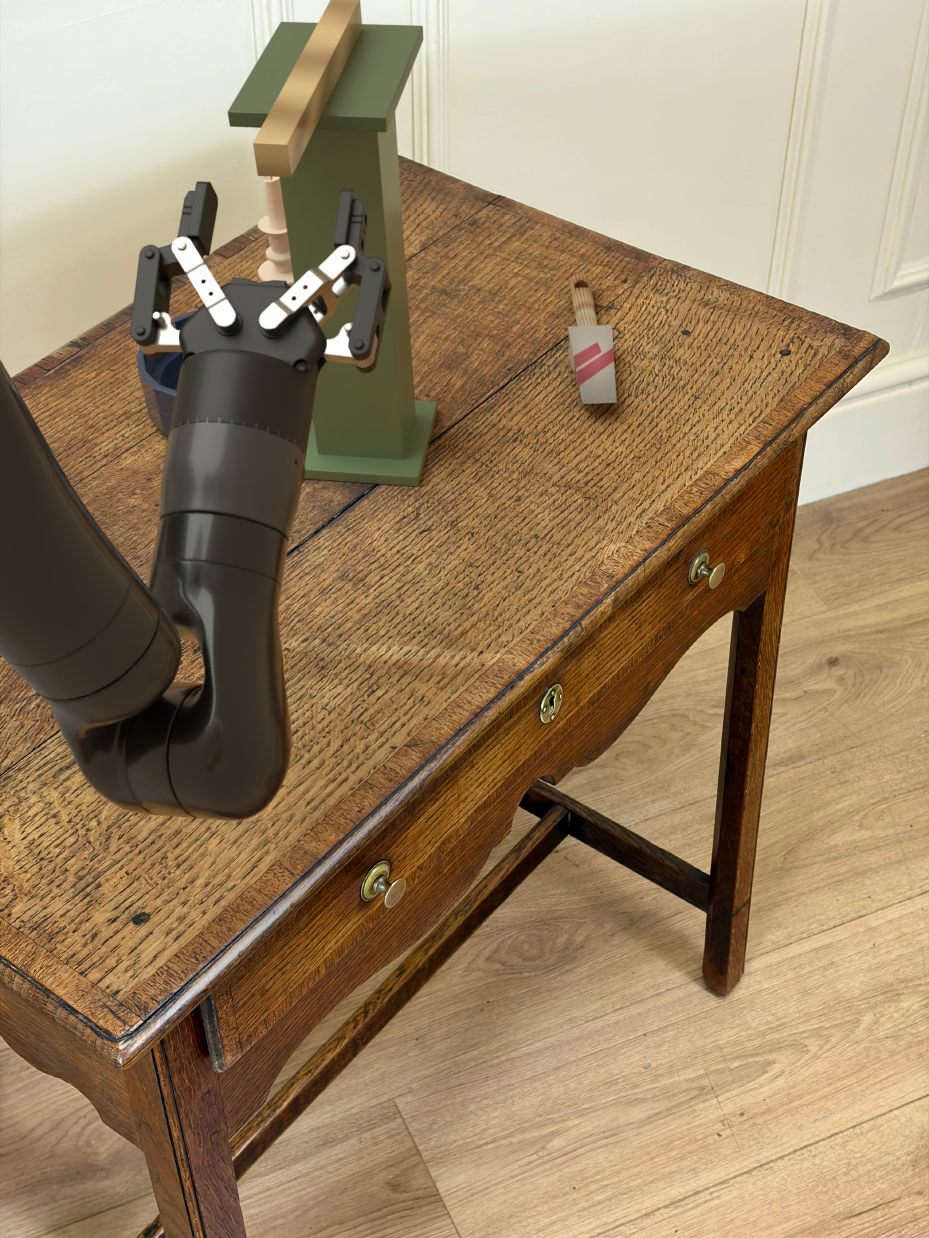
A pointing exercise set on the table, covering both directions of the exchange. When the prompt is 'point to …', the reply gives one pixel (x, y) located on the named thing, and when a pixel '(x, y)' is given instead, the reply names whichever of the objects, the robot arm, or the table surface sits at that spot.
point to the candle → (275, 236)
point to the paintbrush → (590, 347)
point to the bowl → (161, 381)
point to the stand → (368, 162)
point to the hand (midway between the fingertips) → (278, 192)
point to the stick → (307, 90)
